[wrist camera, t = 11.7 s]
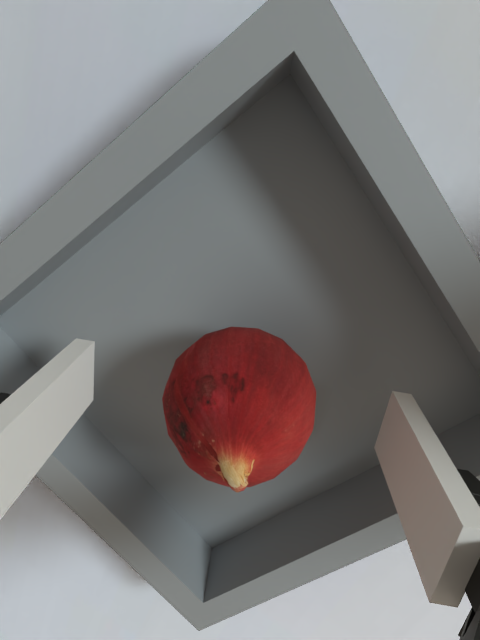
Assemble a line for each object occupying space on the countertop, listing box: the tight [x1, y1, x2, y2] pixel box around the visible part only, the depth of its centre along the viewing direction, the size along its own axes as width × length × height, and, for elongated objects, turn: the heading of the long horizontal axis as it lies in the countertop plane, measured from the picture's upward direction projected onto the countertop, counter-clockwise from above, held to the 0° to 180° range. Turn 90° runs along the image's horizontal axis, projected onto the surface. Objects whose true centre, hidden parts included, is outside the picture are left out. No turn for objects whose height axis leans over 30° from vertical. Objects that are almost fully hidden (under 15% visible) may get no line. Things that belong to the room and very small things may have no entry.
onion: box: [162, 327, 316, 493], centre depth 16 cm, size 6×6×8 cm
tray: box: [0, 0, 480, 631], centre depth 18 cm, size 20×20×4 cm
